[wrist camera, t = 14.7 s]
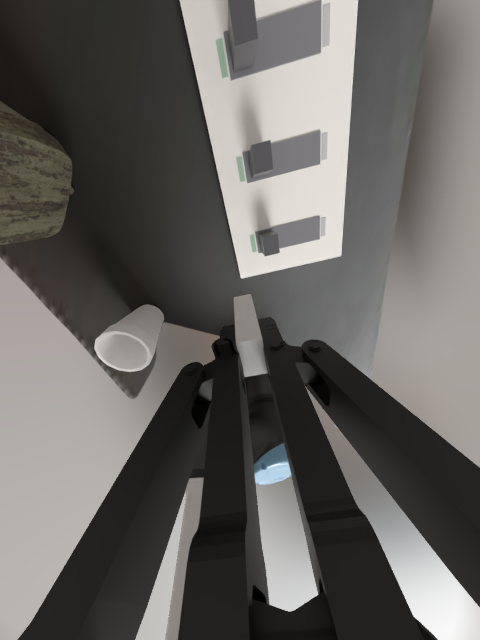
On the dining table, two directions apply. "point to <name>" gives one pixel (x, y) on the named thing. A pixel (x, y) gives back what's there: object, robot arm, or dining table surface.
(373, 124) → the dining table surface
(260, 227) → the breaker panel
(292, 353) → the robot arm
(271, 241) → the handle
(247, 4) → the handle
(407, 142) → the dining table surface
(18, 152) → the tabletop clock
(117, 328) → the foam cup
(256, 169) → the handle
